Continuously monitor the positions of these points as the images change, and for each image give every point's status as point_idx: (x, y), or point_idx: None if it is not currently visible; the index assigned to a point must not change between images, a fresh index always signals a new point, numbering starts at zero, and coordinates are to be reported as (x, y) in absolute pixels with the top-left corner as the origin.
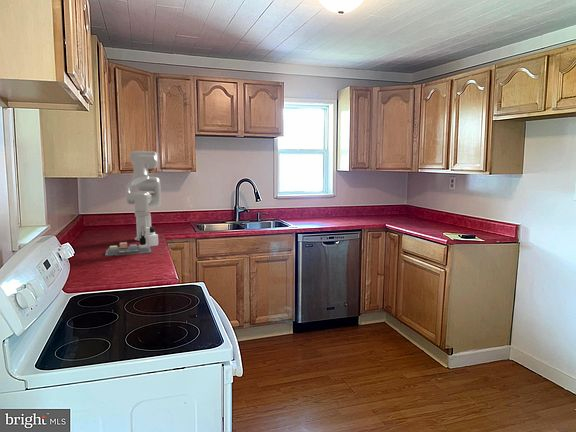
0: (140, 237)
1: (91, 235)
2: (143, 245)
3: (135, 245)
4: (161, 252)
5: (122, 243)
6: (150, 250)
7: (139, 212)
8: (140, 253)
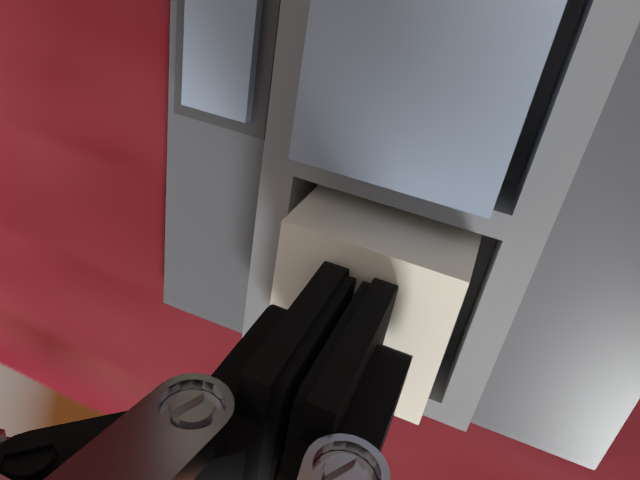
0: (155, 395)
1: None
2: (273, 300)
3: (326, 128)
4: None
5: None
6: None
7: None
8: (178, 125)
